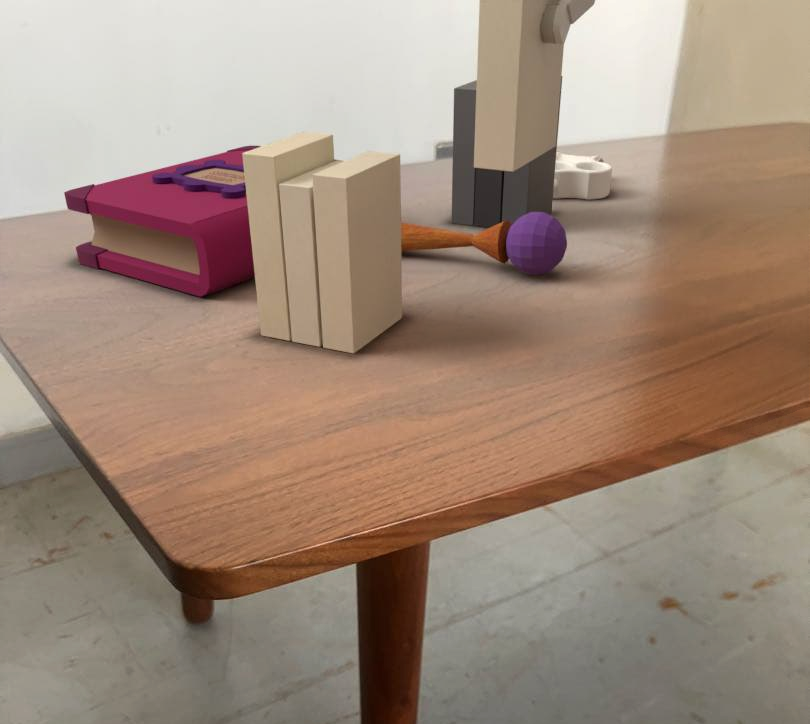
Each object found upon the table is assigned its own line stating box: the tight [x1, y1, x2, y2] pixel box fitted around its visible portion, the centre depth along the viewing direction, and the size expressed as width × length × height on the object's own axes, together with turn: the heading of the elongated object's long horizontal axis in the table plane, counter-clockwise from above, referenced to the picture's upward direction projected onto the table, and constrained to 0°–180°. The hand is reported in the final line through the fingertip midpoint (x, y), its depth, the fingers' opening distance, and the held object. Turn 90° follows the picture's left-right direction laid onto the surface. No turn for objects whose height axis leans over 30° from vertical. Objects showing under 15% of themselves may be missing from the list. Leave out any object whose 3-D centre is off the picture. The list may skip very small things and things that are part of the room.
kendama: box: [401, 212, 568, 276], centre depth 94 cm, size 6×6×20 cm
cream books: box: [242, 131, 403, 354], centre depth 77 cm, size 9×9×15 cm
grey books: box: [451, 75, 563, 229], centre depth 105 cm, size 9×9×15 cm
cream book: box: [474, 0, 565, 172], centre depth 63 cm, size 3×9×14 cm, turn 153°
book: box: [63, 145, 342, 298], centre depth 99 cm, size 21×28×8 cm
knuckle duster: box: [553, 151, 613, 201], centre depth 121 cm, size 3×18×15 cm
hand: (520, 36), depth 62 cm, fingers closed on cream book, 3 cm apart
